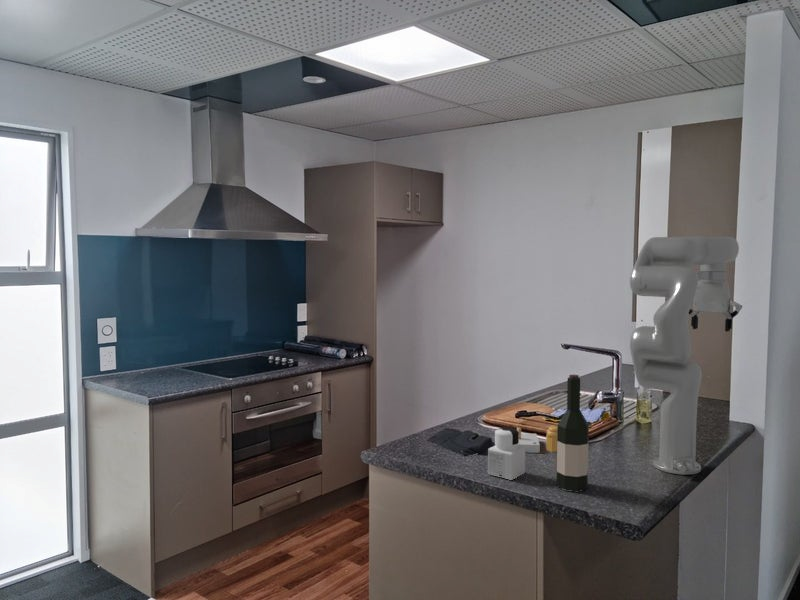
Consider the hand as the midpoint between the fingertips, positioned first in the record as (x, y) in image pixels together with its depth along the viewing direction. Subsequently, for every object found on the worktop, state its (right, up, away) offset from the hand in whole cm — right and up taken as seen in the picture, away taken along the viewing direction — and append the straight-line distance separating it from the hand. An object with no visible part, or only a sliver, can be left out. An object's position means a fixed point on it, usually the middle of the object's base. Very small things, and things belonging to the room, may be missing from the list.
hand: (711, 329), depth 201 cm
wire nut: (-52, -38, -4) cm, 64 cm away
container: (-71, -40, -26) cm, 85 cm away
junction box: (-62, -37, +2) cm, 72 cm away
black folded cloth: (-80, -38, +1) cm, 89 cm away
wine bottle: (-55, -40, -35) cm, 76 cm away
